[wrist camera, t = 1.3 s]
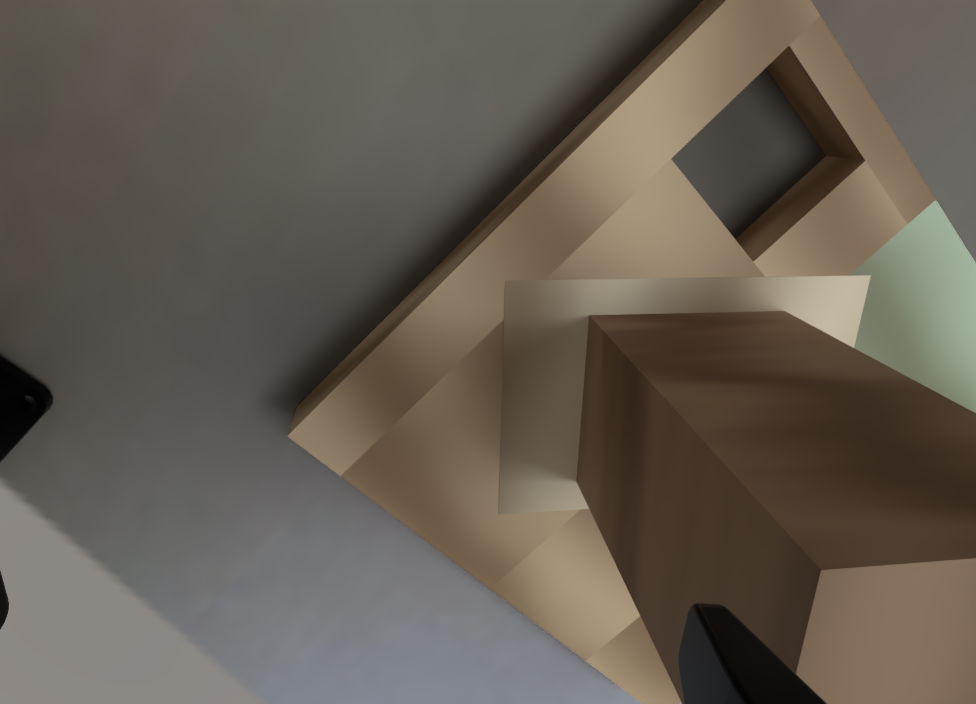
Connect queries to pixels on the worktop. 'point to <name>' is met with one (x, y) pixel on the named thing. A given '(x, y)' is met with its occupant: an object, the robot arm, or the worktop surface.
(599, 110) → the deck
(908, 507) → the walnut box
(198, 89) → the worktop surface
